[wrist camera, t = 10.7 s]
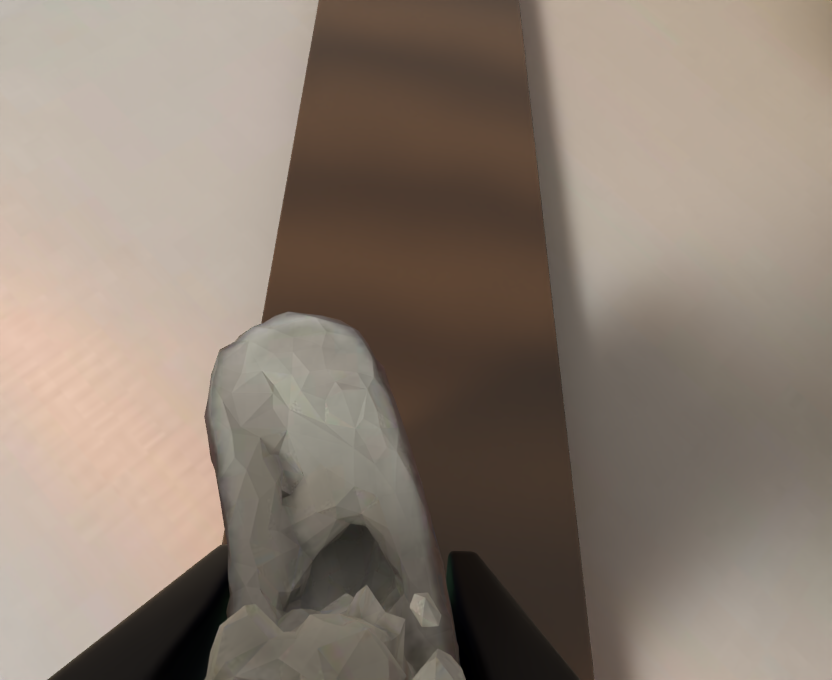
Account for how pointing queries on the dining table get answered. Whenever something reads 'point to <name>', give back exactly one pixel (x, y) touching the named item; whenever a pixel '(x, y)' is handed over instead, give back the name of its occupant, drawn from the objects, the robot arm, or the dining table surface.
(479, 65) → the board
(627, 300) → the dining table surface
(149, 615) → the robot arm
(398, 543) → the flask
